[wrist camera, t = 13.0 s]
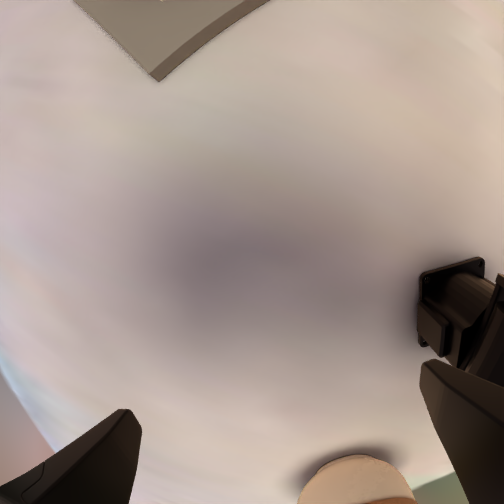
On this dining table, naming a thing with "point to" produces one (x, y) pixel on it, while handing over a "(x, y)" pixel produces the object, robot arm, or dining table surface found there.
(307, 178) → the dining table surface
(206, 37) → the foundation slab
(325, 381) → the dining table surface
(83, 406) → the dining table surface
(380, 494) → the lidded bowl
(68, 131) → the dining table surface
